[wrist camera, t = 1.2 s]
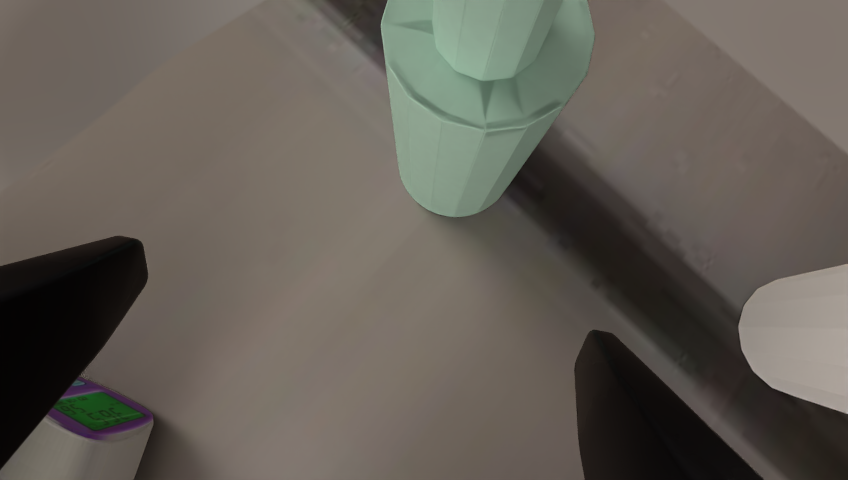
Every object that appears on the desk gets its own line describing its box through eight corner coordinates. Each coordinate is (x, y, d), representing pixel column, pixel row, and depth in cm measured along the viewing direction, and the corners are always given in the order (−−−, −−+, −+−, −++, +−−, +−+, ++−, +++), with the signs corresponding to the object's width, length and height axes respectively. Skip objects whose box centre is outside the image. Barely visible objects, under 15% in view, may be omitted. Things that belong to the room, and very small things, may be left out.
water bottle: (521, 208, 23) (689, 37, 9) (406, 224, 23) (389, 75, 9) (501, 101, 24) (625, -213, 10) (391, 115, 24) (352, -184, 10)
